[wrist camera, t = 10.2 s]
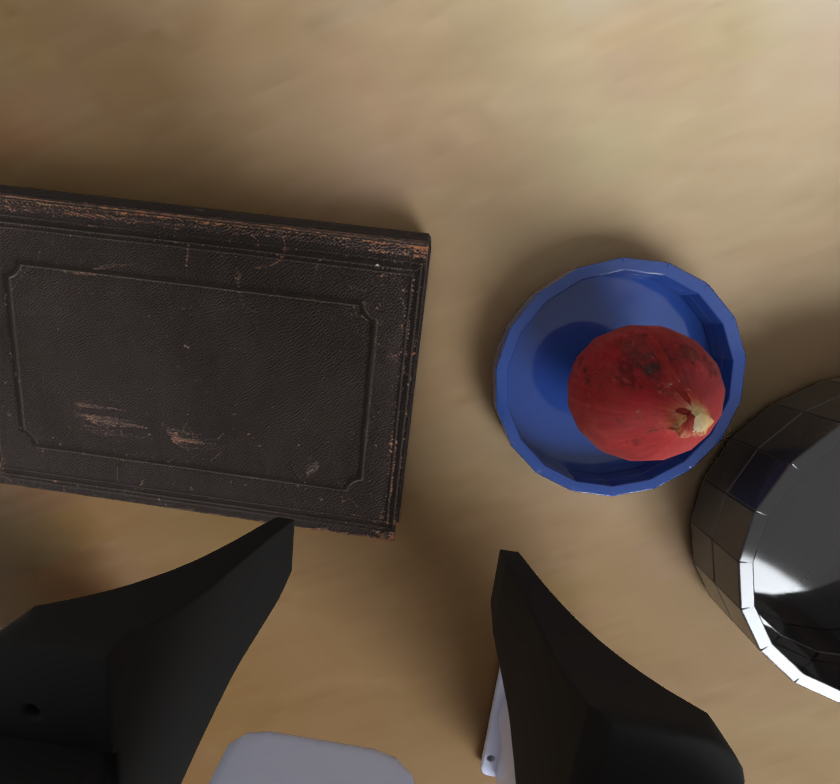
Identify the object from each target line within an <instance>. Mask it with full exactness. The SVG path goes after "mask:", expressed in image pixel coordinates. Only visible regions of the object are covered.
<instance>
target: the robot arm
mask: <svg viewBox="0 0 840 784" xmlns="http://www.w3.org/2000/svg"><path fill="white" fill-rule="evenodd" d="M293 536H294V519H289V518H282V517H276V518H274V519H272V520H270V521H268V522H267V523H265V524H263V525H261V526H260V527H258V528H256V529H254V530H253V531H251V532H249V533H247V534H246V535H244V536H242V537H240V538H238V539H237V540H235V541H233V542H231V543H229V544H227V545H225V546H223V547H222V548H220V549H218V550H216V551H214V552H212V553H210V554H208V555H206V556H204V557H202V558H199V559H197V560H195V561H193V562H191V563H188V564H186V565H183V566H181V567H179V568H176V569H174V570H171V571H169V572H166V573H163V574H160V575H157V576H154V577H151V578H148V579H145V580H143V581H140V582H137V583H134V584H130V585H127V586H123V587H120V588H116V589H113V590H109V591H105V592H101V593H97V594H93V595H89V596H85V597H80V598H75V599H70V600H65V601H60V602H55V603H50V604H44V605H38V606H35V607H33V608H32V609H30V610H29V611H28V612H26V613H25V614H23V615H22V616H21V617H19V618H18V619H16V620H15V621H14V622H12V623H11V624H9V625H8V626H7V627H5V628H4V629H2V630H1V631H0V784H181V782H182V780H183V778H184V776H185V774H186V771H187V769H188V767H189V765H190V763H191V760H192V758H193V756H194V754H195V752H196V749H197V747H198V745H199V743H200V741H201V739H202V737H203V735H204V732H205V730H206V728H207V726H208V724H209V722H210V720H211V718H212V716H213V714H214V712H215V709H216V707H217V705H218V703H219V701H220V699H221V697H222V695H223V693H224V691H225V689H226V687H227V685H228V683H229V681H230V679H231V677H232V675H233V673H234V672H235V670H236V668H237V666H238V665H239V663H240V661H241V659H242V658H243V656H244V655H245V653H246V651H247V650H248V648H249V646H250V645H251V643H252V642H253V640H254V638H255V637H256V635H257V634H258V632H259V630H260V629H261V627H262V625H263V624H264V622H265V621H266V619H267V617H268V616H269V614H270V612H271V611H272V609H273V607H274V606H275V604H276V602H277V601H278V599H279V597H280V595H281V593H282V591H283V589H284V587H285V584H286V582H287V580H288V578H289V575H290V573H291V571H292V554H293ZM491 612H492V625H493V634H494V640H495V645H496V650H497V655H498V661H499V666H500V667H499V673H498V678H497V683H496V688H495V693H494V698H493V703H492V708H491V713H490V718H489V723H488V728H487V734H486V739H485V744H484V749H483V754H482V759H481V771H482V772H483V773H484V774H485V775H489V776H495V777H496V780H497V784H744V782H745V781H744V774H743V768H742V766H741V764H740V763H739V761H738V759H737V757H736V755H735V754H734V752H733V751H732V749H731V748H730V746H729V745H728V743H727V741H726V740H725V738H724V737H723V735H722V734H721V732H720V731H719V729H718V728H717V726H716V725H715V723H714V722H713V720H712V719H711V718H710V716H709V715H708V713H706V712H704V711H702V710H701V709H699V708H697V707H696V706H694V705H692V704H690V703H689V702H687V701H685V700H684V699H682V698H680V697H679V696H677V695H675V694H673V693H672V692H670V691H668V690H667V689H665V688H664V687H662V686H661V685H659V684H658V683H656V682H655V681H653V680H652V679H650V678H649V677H647V676H646V675H644V674H643V673H641V672H640V671H638V670H637V669H635V668H634V667H633V666H631V665H630V664H629V663H627V662H626V661H625V660H623V659H622V658H621V657H619V656H618V655H617V654H616V653H614V652H613V651H612V650H610V649H609V648H608V647H607V646H605V645H604V644H603V643H602V642H601V641H599V640H598V639H597V638H596V637H595V636H594V635H593V634H592V633H591V632H589V631H588V630H587V629H586V628H585V627H584V626H583V625H582V624H581V623H580V622H579V621H578V620H576V619H575V618H574V617H573V616H572V615H571V613H570V612H569V611H568V610H567V609H566V608H565V607H564V606H563V605H562V604H561V603H560V602H559V601H558V600H557V599H556V597H555V596H554V595H553V594H552V593H551V592H550V591H549V590H548V588H547V587H546V586H545V585H544V584H543V582H542V581H541V580H540V579H539V578H538V576H537V575H536V574H535V573H534V571H533V570H532V569H531V568H530V566H529V565H528V564H527V562H526V561H525V560H524V559H523V557H522V556H521V555H520V554H519V553H518V552H514V551H507V550H501V549H500V553H499V559H498V564H497V570H496V575H495V581H494V586H493V592H492V597H491ZM209 784H414V780H413V776H412V775H411V774H410V773H409V771H408V770H407V769H406V768H405V767H404V766H403V765H402V764H401V763H400V762H399V761H398V760H397V759H396V758H395V757H394V756H391V755H388V754H386V753H383V752H381V751H378V750H376V749H372V748H366V747H360V746H354V745H348V744H342V743H336V742H331V741H325V740H319V739H313V738H307V737H301V736H295V735H289V734H283V733H278V732H272V731H271V732H250V733H247V734H245V735H243V736H242V737H240V738H238V739H237V740H235V741H234V742H232V743H230V744H229V745H228V747H227V749H226V751H225V753H224V755H223V757H222V759H221V761H220V763H219V765H218V767H217V769H216V771H215V773H214V775H213V777H212V779H211V781H210V783H209Z"/></svg>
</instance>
